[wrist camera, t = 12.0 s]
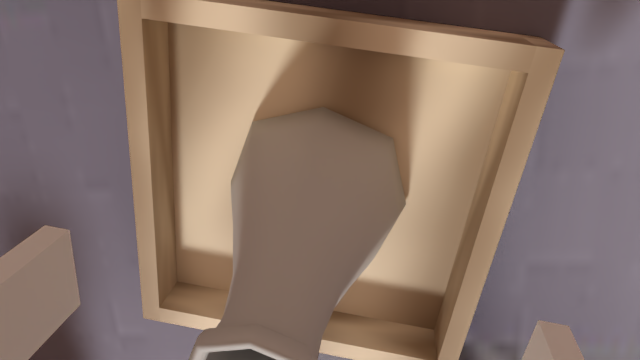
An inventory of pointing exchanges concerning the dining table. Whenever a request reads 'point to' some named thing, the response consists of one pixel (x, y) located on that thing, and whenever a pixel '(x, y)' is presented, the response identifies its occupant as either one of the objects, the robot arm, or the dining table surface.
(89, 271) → the dining table surface
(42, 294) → the robot arm
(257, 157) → the flask
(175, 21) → the serving tray
